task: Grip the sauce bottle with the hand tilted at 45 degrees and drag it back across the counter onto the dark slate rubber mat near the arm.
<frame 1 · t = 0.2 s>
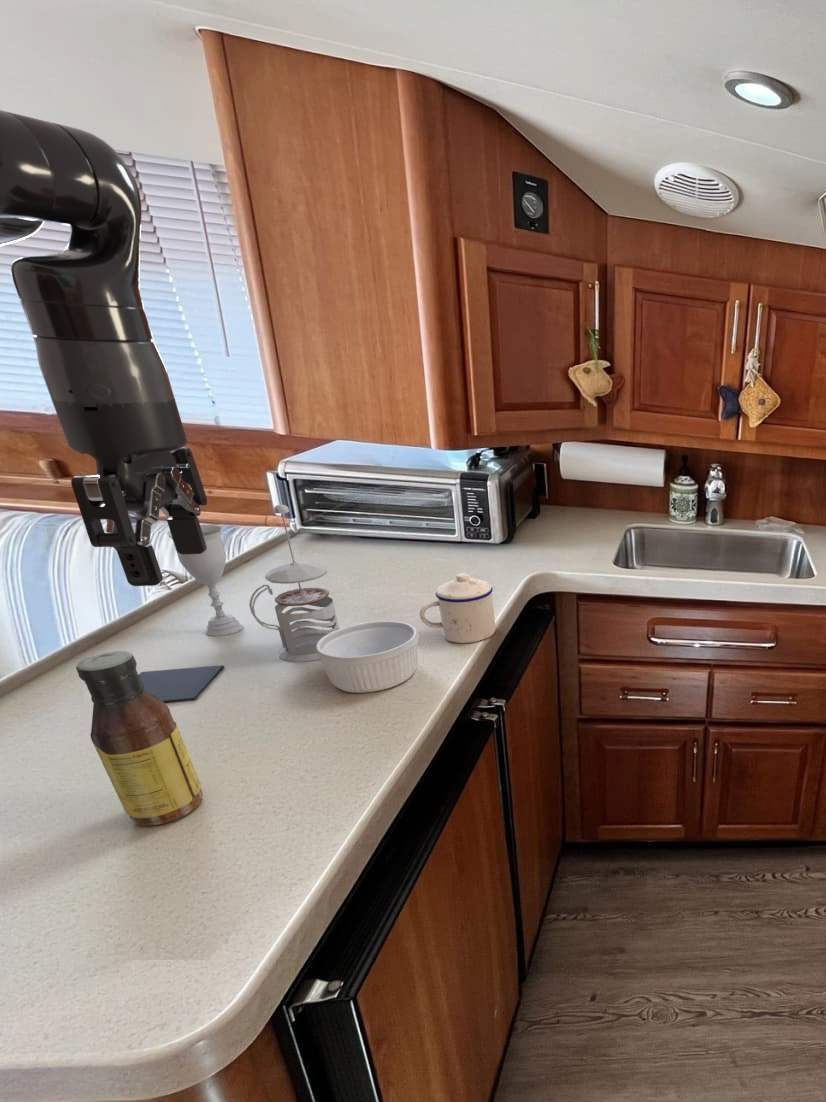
hand: (171, 567, 61), 30 cm above the table, tool pointing down, fingers open, 8 cm apart
sauce bottle: (168, 812, 72), on the table
french press: (308, 650, 107), on the table
ramekin: (376, 677, 101), on the table
mat: (167, 686, 94), on the table
teacup with lid: (461, 636, 116), on the table
chalice: (225, 630, 111), on the table
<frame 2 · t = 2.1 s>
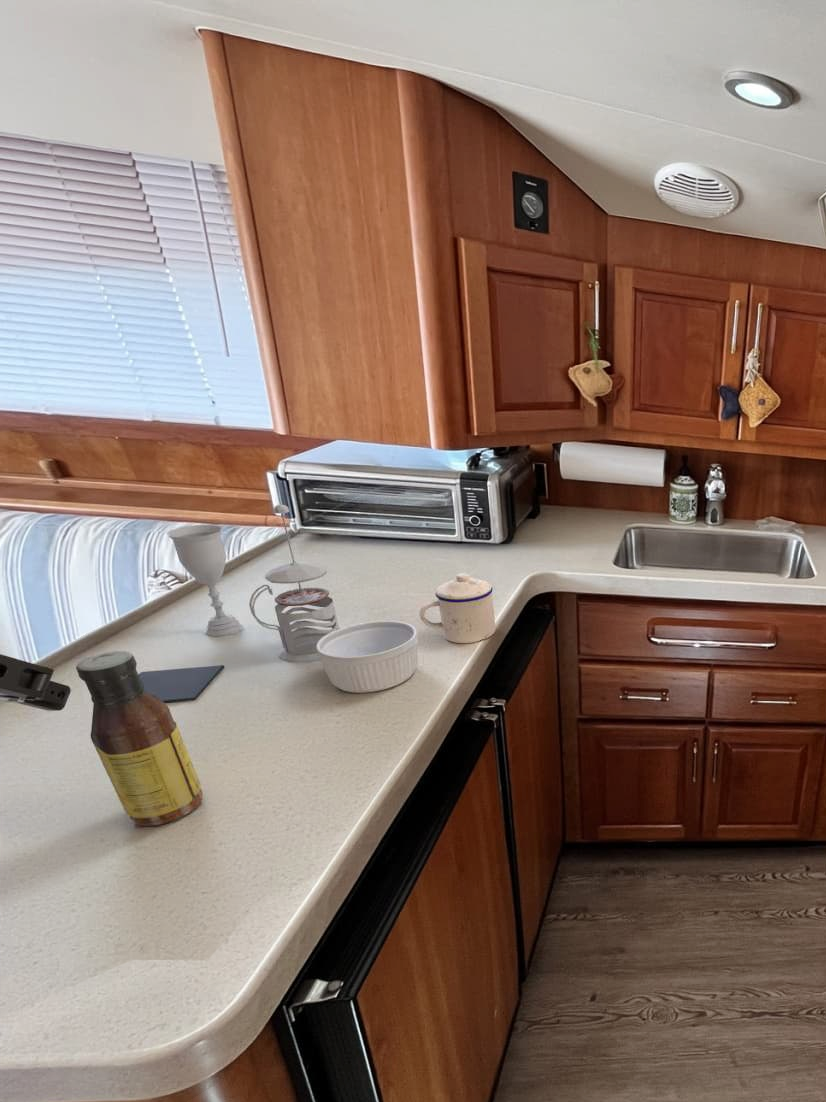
hand: (5, 700, 55), 21 cm above the table, tool tilted 45°, fingers open, 8 cm apart
nothing on the table moved.
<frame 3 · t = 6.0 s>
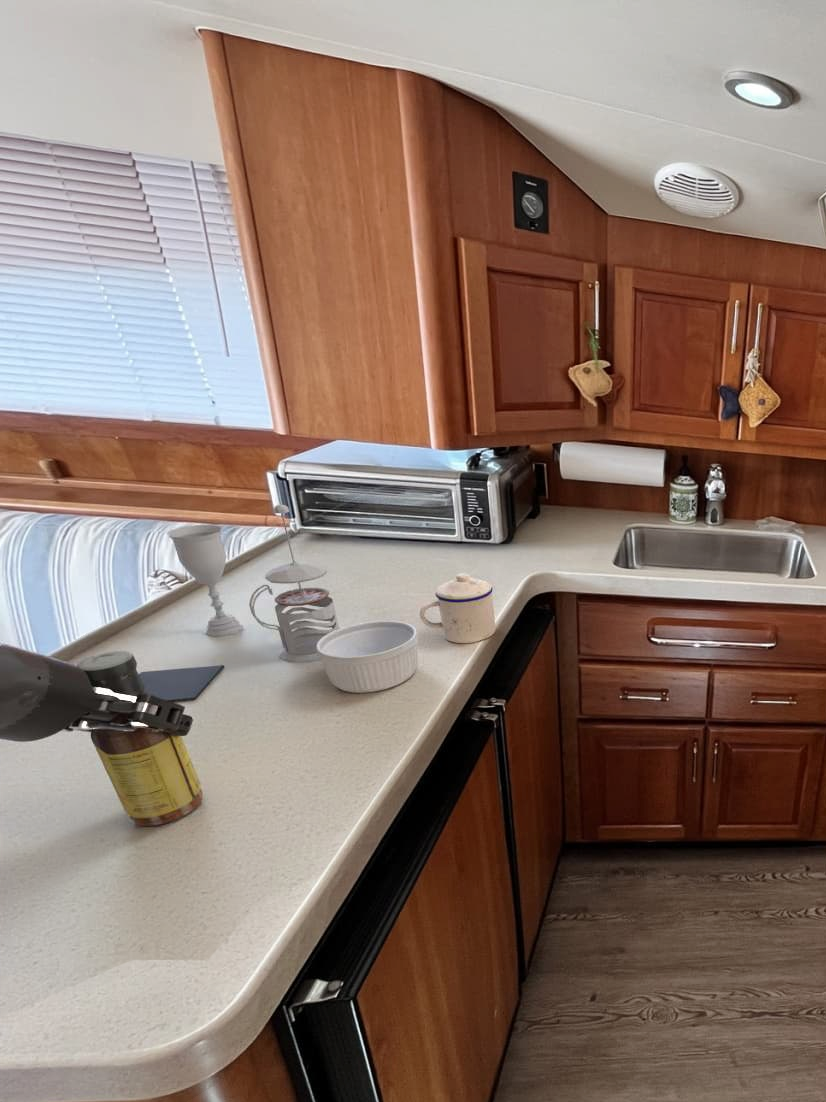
hand: (151, 726, 69), 10 cm above the table, tool tilted 45°, fingers closed on sauce bottle, 6 cm apart
sauce bottle: (168, 812, 72), on the table, touching gripper
everything else where it was.
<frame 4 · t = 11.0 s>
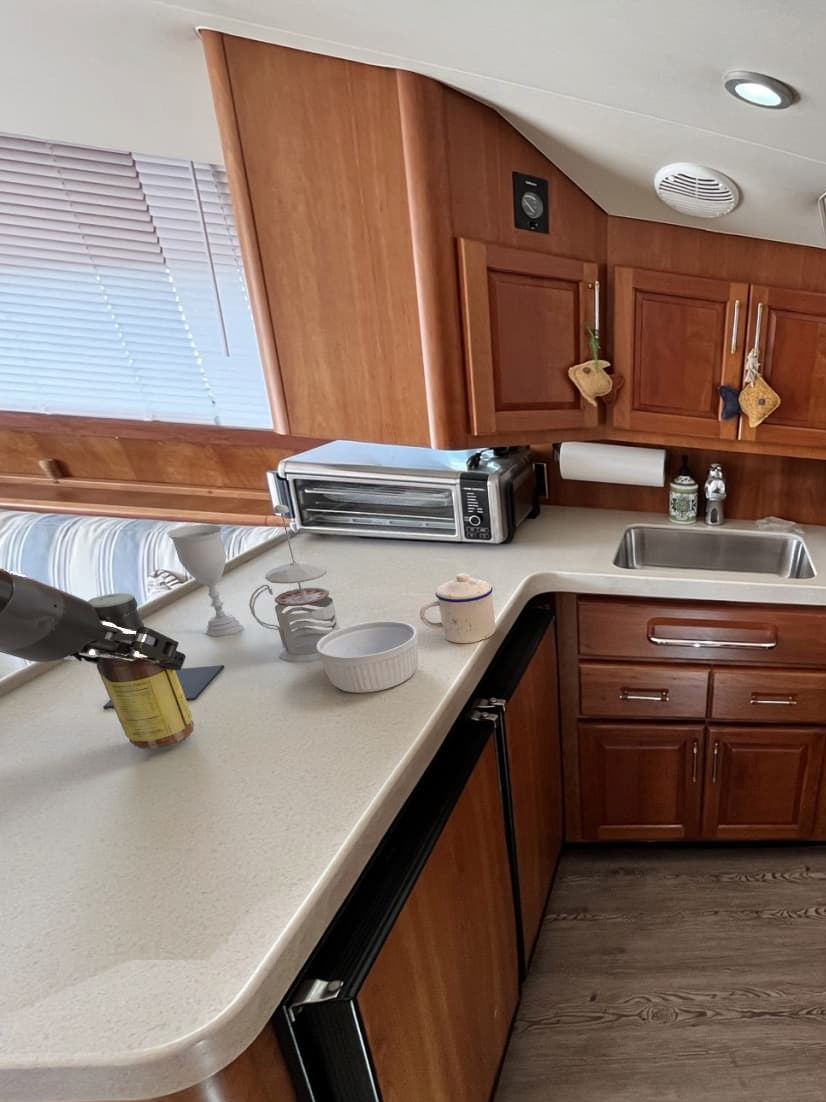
hand: (149, 662, 79), 11 cm above the table, tool tilted 45°, fingers closed on sauce bottle, 6 cm apart
sauce bottle: (163, 739, 82), point 1 cm above the table, touching gripper
everything else where it was.
when the fingers open (11 cm above the table, at t = 16.1 s): sauce bottle stays where it is, resting on mat.
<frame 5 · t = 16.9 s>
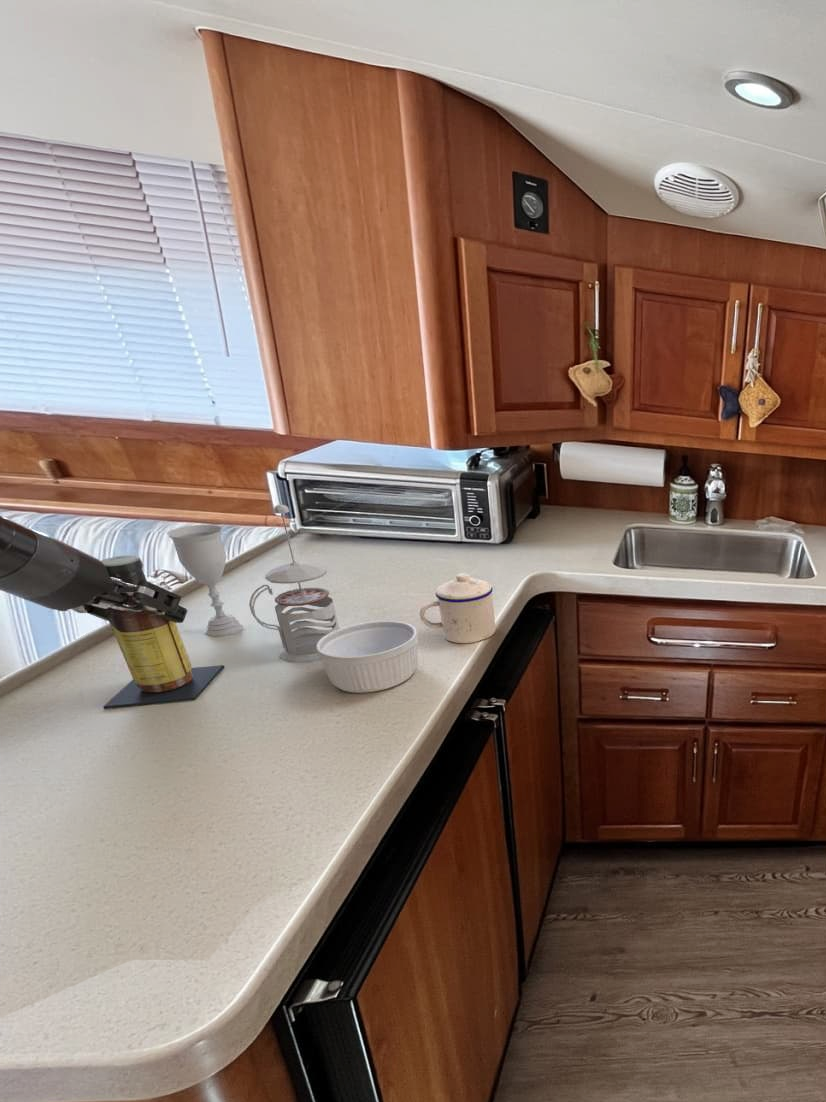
hand: (149, 615, 90), 11 cm above the table, tool tilted 45°, fingers open, 8 cm apart
sauce bottle: (166, 686, 94), resting on mat
everything else where it was.
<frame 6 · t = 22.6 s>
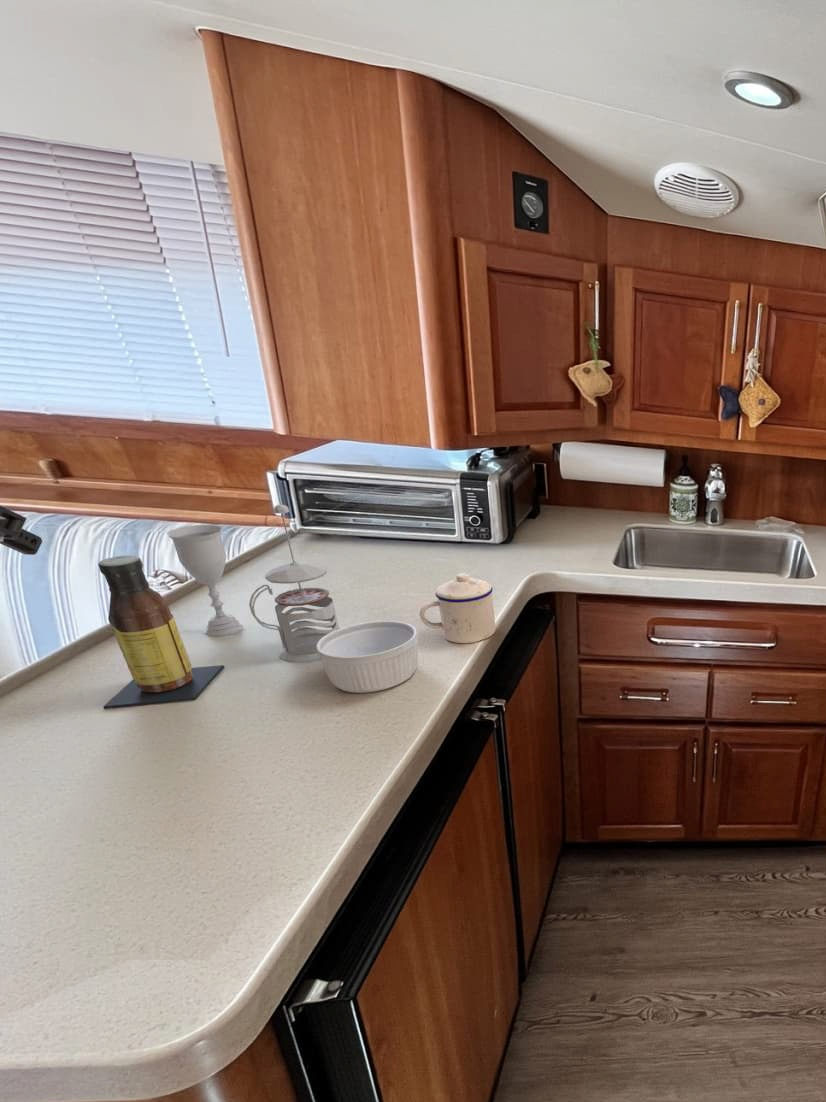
nothing on the table moved.
at the end: sauce bottle inside the target area on the mat (0.2 cm from its centre), point 0.2 cm above the mat's base; sauce bottle tilted 0°; sauce bottle moved 33.1 cm from its start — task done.
